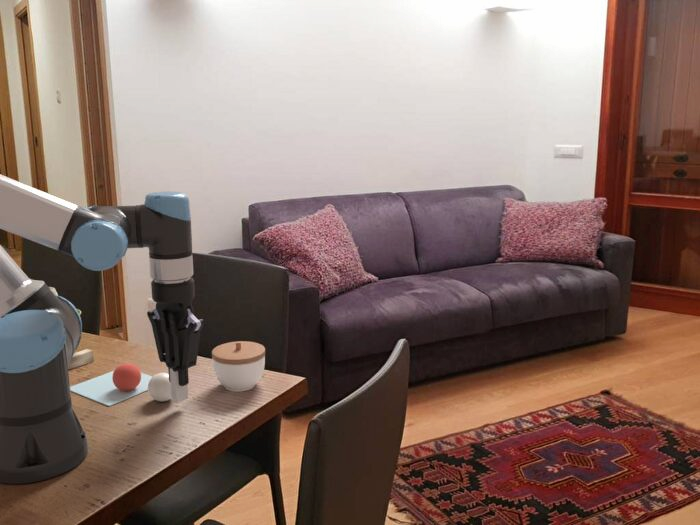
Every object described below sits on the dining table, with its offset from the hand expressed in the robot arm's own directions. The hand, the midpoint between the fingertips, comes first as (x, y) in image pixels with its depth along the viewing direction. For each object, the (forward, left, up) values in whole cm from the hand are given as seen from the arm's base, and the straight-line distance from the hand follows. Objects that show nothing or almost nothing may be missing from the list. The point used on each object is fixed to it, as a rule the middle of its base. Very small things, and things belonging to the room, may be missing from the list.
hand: (180, 399), depth 125 cm
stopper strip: (+6, +35, -2) cm, 36 cm away
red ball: (+3, +15, +1) cm, 16 cm away
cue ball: (+2, +6, +1) cm, 6 cm away
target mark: (+3, +19, -2) cm, 19 cm away
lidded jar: (+14, -4, -2) cm, 15 cm away
